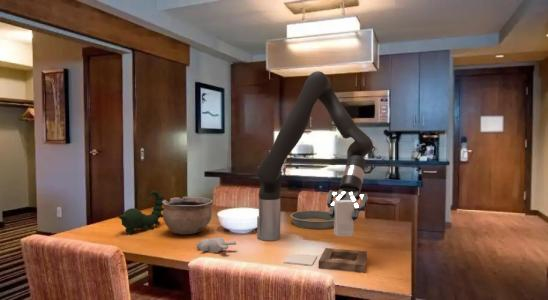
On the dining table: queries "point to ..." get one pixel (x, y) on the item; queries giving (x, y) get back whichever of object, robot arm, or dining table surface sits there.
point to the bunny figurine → (214, 244)
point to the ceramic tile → (300, 259)
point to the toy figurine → (143, 216)
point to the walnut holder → (343, 265)
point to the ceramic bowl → (187, 214)
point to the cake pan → (303, 218)
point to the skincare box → (343, 218)
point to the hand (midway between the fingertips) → (342, 218)
